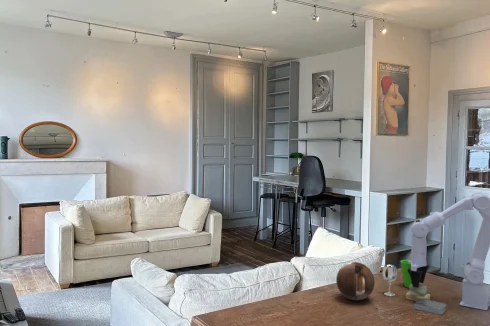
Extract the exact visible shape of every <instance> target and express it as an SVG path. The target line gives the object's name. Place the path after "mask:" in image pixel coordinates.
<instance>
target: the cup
mask: <svg viewBox="0 0 490 326" xmlns="http://www.w3.org/2000/svg"><path fill="white" fill-rule="evenodd" d="M408 261H411V259H402V260H400V261H399V262H400V264H401V265H400V266H401V271H402V272H401V273H402V279H403V285H404V287H405V288H409V289H410V285H411V284H412V282H411V277H410V275H409V273H408V269H409V268H411V263H408Z"/></svg>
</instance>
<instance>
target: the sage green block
mask: <svg viewBox="0 0 490 326" xmlns="http://www.w3.org/2000/svg"><path fill="white" fill-rule="evenodd" d="M419 298H422V299H427V300H431V294H430V293H428V285H425V284H421V283H419V287H418V288H417V287H413V286H412V284H411V285H410V288H409V291H407V293H405V299H406V300H411V301H415V302H416V301H417V300H418V299H419Z"/></svg>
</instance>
